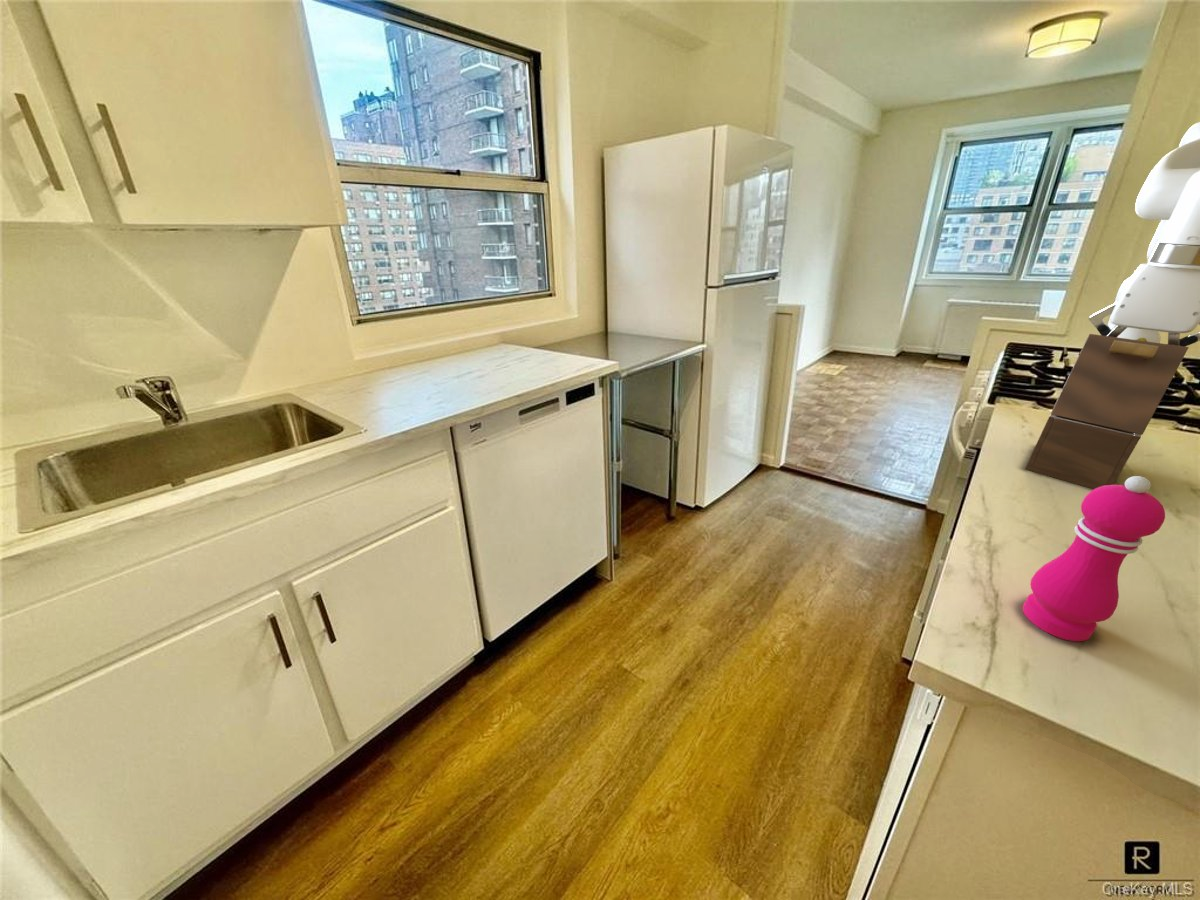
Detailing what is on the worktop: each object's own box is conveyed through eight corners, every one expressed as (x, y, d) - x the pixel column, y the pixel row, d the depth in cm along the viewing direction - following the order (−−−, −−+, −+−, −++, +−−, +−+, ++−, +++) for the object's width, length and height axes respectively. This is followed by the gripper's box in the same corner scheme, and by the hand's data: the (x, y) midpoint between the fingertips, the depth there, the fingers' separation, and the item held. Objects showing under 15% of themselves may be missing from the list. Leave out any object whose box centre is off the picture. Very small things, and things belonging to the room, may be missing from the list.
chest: (1037, 447, 99) (1060, 398, 94) (1114, 467, 92) (1144, 415, 87) (1024, 469, 91) (1049, 416, 86) (1108, 493, 83) (1140, 437, 79)
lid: (1089, 334, 83) (1091, 326, 79) (1187, 348, 76) (1196, 340, 72) (1050, 414, 86) (1050, 410, 82) (1141, 435, 79) (1147, 432, 74)
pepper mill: (1002, 598, 61) (1075, 459, 52) (1061, 599, 61) (1143, 460, 52) (1048, 644, 55) (1139, 495, 45) (1113, 646, 54) (1218, 497, 45)
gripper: (1268, 259, 73) (1199, 375, 81) (1112, 251, 84) (1065, 353, 92) (1274, 263, 68) (1201, 385, 76) (1108, 254, 79) (1060, 361, 87)
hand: (1127, 366), depth 84 cm, fingers closed on lemon, 5 cm apart
